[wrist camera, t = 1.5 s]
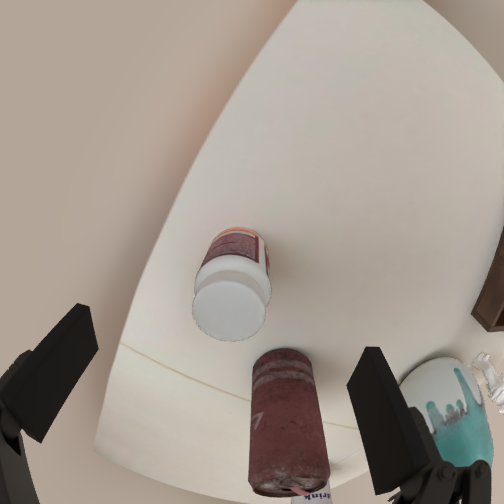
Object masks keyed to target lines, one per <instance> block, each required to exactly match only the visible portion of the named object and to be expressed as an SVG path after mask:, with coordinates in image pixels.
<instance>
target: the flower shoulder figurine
mask: <svg viewBox="0 0 504 504" xmlns="http://www.w3.org/2000/svg"><path fill="white" fill-rule="evenodd" d="M484 356H485V354H484V353H483V352H482V353H480V354H479V355H478V356H477V357H476V359H475V360H474V362H473V366H474V367H475V368H477V369H480V370H482V372H483V374H484V376H485V378H486V380H487V381H488V384H486V388H487V389H488V391H489V392H490V395H491V396H490V395H488V397H491V401H492V402H493V399H494V400H495V401H496V402H497V403H498V406H500V408H499V412H500V413H504V381H503V380H504V376H503V374H502V373H501V375H500V374H499V375H498V374H497V372H496V371H495V369H494V367H493V365H492V364H490V363H489V362H488V360H489V358H490V355H489V354H488V355H486V356H485V357H484Z"/></svg>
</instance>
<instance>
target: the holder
mask: <svg viewBox="0 0 504 504" xmlns="http://www.w3.org/2000/svg"><path fill="white" fill-rule="evenodd" d="M471 315H472V316H473V317H474V318H475V319H476V320H477V321H478V322H479V323H480V324H481V325H482V326H483V328H484V329H485V330H486V331H487V332H498V331H504V228H503V231H502V235H501V238H500V242H499V245H498V248H497V251H496V254H495V257H494V260H493V263H492V266H491V268H490V271H489V274H488V276H487V279H486V281H485V284H484V286H483V289H482V291H481V293H480V296H479V298H478V300H477V302H476V305H475V307H474V309H473V311H472V313H471Z"/></svg>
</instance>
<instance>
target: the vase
mask: <svg viewBox="0 0 504 504" xmlns="http://www.w3.org/2000/svg"><path fill="white" fill-rule="evenodd" d="M399 388H400V390H401V392H402V394H403V396H404V399H405V401H406V403H407V405H408V407H414V406H415V407H416V408H417V409H418V410H419V411H420V412H421V413H422V414H423V416H424V418H425V421H426V423H427V424H426V425H428V427H429V430H430V433H431V434H432V436H433V439H434V441H435V443H436V446H437V448H438V451H439V453H440V455H441V457H442V459H443V461H449V462H451V463H452V464H453V465H454V466H455V467H465V466H470V465H471V464H473V463H474V462H475V461H477V460H480V459H482V460H485V461H486V462H488V464H489V465H490V468H491V466H492V461H493V442H492V436H491V431H490V427H489V423H488V419H487V414H486V409H485V403H484V399H483V396H482V392H481V390H480V387H479V385H478V382H477V380H476V378H475V376H474V374H473V372H472V371H471V370H470V368H469V367H468V366H467V365H466V364H464V363H463V362H461V361H460V360H457V359H454V358H450V357H439V358H435V359H432V360H429V361H427V362H425V363H423V364H422V365H420V366H419V367H417V368H416V369H414V370H413V371H412V372H411V373H410V374H409V375H408V376H407V377H406V378H405V379H404V381H403V382H402V383H401V385H400V386H399Z"/></svg>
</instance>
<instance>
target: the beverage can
mask: <svg viewBox="0 0 504 504" xmlns="http://www.w3.org/2000/svg"><path fill="white" fill-rule="evenodd" d="M291 504H332V499H331V492H330V484H329V479H328V481H327V485H326V486H325V487H324V488H323V489H321V490H319V491H316V492H314V493H311V494H310V495H308V496H304V495H302V496H295V497H291Z"/></svg>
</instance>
